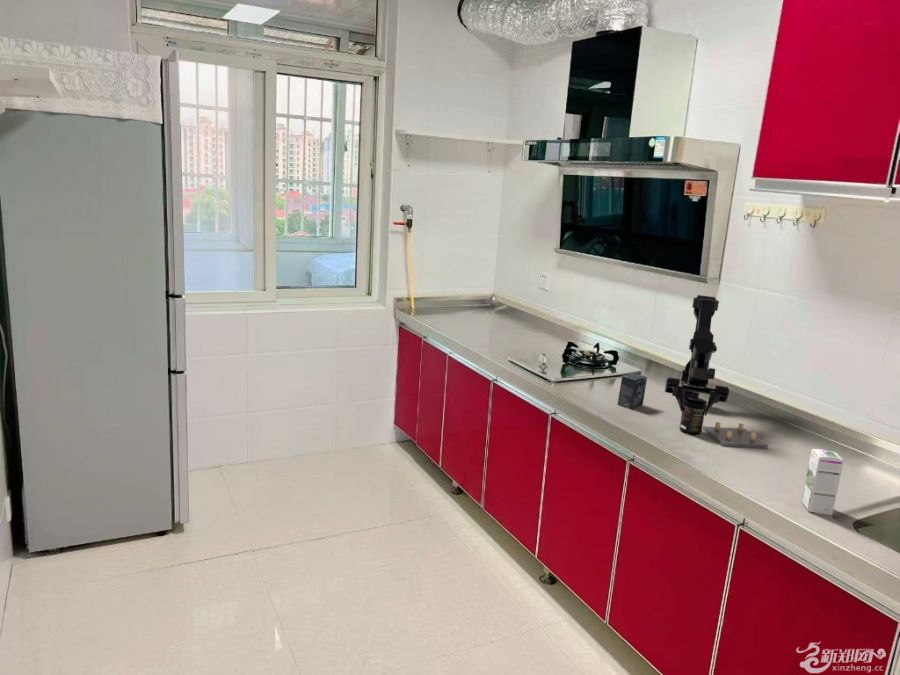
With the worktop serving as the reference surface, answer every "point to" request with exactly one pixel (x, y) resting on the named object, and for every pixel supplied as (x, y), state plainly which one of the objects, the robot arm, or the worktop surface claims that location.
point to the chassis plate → (734, 436)
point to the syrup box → (822, 481)
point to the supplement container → (692, 415)
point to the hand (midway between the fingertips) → (693, 412)
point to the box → (632, 390)
